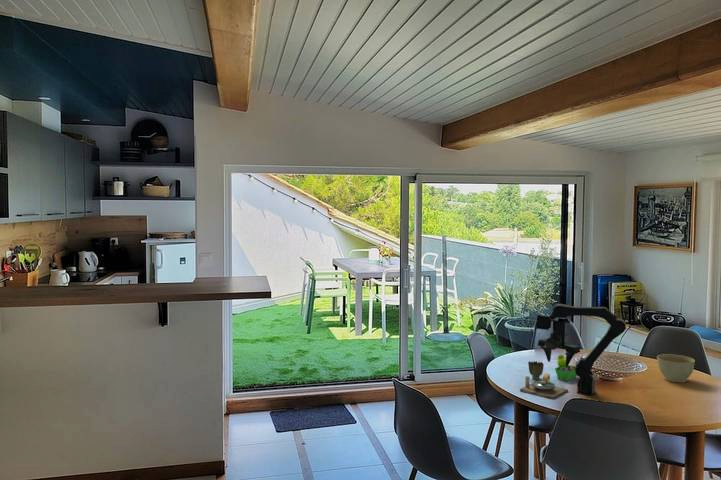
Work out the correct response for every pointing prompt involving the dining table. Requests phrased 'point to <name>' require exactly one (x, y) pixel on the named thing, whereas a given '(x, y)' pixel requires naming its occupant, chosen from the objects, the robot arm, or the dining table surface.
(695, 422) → the dining table surface
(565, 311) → the robot arm
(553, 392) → the post board
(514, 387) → the dining table surface
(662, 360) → the planter bowl
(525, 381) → the dowel pin
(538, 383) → the flange plate
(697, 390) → the dining table surface
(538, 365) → the cup
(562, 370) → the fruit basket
